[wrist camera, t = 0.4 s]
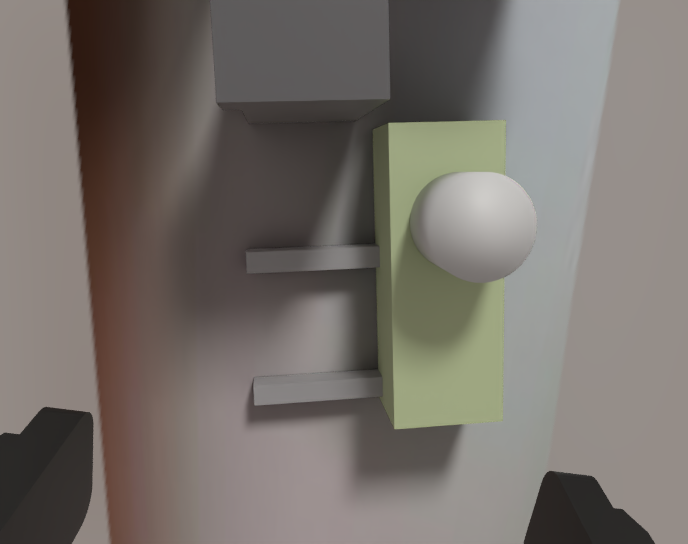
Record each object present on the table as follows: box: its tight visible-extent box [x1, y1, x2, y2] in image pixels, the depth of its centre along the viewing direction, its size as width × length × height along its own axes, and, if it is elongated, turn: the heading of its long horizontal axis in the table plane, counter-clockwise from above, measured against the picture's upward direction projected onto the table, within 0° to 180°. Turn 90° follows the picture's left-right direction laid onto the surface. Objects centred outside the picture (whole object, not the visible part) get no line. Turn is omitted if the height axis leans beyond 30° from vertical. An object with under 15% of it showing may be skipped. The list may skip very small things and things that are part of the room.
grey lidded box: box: [210, 0, 390, 124], centre depth 29 cm, size 5×7×11 cm
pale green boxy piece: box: [246, 120, 537, 429], centre depth 32 cm, size 16×14×9 cm
